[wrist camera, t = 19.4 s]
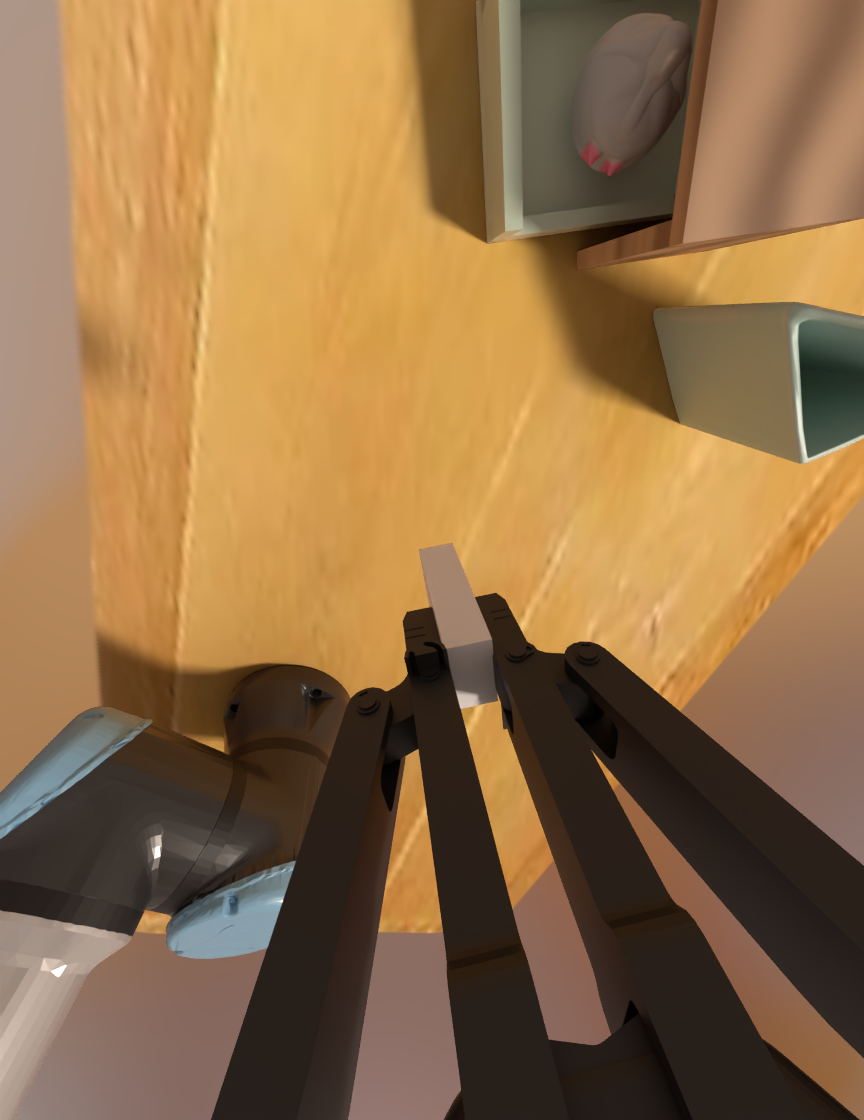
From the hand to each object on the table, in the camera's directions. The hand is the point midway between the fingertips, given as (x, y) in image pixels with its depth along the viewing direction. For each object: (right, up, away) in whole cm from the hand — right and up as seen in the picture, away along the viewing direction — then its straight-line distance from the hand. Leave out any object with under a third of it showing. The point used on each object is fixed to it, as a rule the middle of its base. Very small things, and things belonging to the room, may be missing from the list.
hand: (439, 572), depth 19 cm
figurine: (+11, +31, +10) cm, 34 cm away
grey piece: (+25, +17, +21) cm, 37 cm away
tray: (+10, +31, +10) cm, 35 cm away
